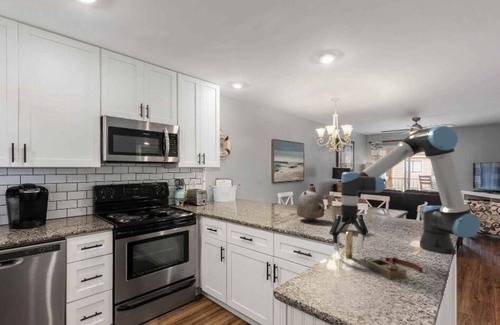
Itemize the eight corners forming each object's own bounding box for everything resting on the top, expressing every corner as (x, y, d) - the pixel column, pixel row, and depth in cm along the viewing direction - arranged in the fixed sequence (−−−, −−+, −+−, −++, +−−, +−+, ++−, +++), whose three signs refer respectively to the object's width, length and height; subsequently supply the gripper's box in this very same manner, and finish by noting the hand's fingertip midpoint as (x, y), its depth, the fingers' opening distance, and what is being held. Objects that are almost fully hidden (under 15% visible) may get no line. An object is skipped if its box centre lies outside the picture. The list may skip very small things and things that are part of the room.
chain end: (372, 261, 119) (372, 255, 119) (395, 272, 106) (395, 266, 106) (357, 262, 116) (357, 257, 116) (379, 274, 104) (379, 268, 104)
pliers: (392, 256, 127) (392, 251, 127) (423, 273, 107) (423, 267, 107) (370, 257, 125) (370, 252, 125) (397, 274, 105) (397, 268, 105)
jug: (290, 221, 203) (290, 183, 204) (301, 217, 221) (301, 182, 221) (320, 225, 189) (321, 184, 190) (330, 220, 207) (330, 183, 207)
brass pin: (349, 256, 125) (349, 231, 125) (353, 258, 122) (354, 232, 122) (344, 256, 124) (344, 231, 124) (348, 258, 121) (348, 233, 122)
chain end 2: (380, 265, 114) (380, 256, 114) (406, 277, 101) (406, 267, 102) (365, 267, 111) (365, 257, 112) (390, 279, 99) (390, 269, 99)
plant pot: (349, 234, 166) (349, 209, 166) (326, 230, 175) (326, 207, 175) (355, 230, 178) (355, 206, 178) (334, 226, 186) (334, 204, 187)
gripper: (365, 202, 131) (364, 244, 131) (322, 203, 124) (321, 248, 123) (376, 204, 124) (375, 249, 123) (331, 206, 116) (331, 253, 116)
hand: (348, 248), depth 123 cm, fingers open, 13 cm apart
